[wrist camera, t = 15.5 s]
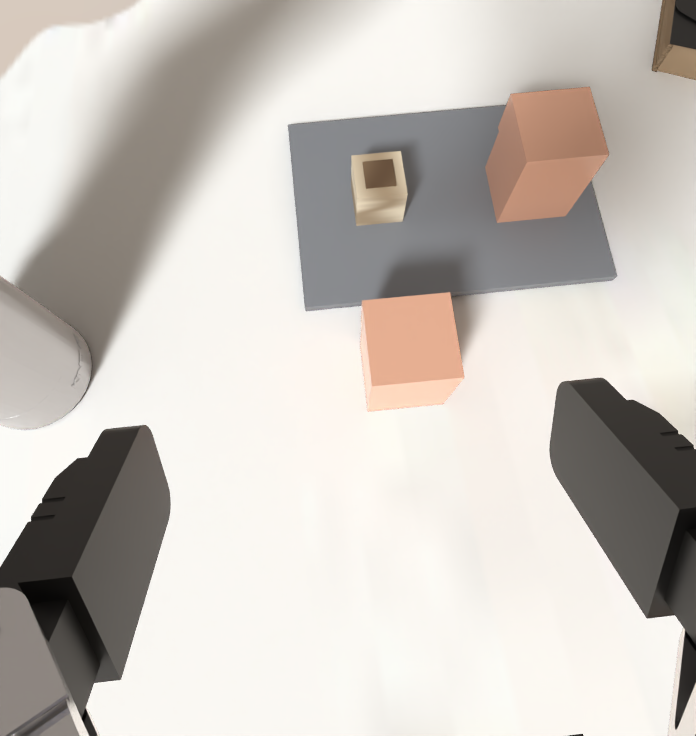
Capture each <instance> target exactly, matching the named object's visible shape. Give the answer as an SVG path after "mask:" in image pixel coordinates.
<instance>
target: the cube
mask: <svg viewBox="0 0 696 736" xmlns="http://www.w3.org/2000/svg"><path fill="white" fill-rule="evenodd" d="M351 189H352V196H353V204H354V212H355V220H356V226H361V225H372V224H382V223H392V222H403V217H404V211H405V206H406V200H407V195H408V193H407V186H406V180H405V174H404V168H403V162H402V155H401V151H395V152H384V153H373V154H362V155H351Z"/></svg>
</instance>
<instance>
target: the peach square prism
mask: <svg viewBox="0 0 696 736" xmlns="http://www.w3.org/2000/svg"><path fill="white" fill-rule="evenodd" d="M360 349H361V358H362V367H363V376H364V385H365V394H366V403H367V411H368V412H369V411H379V410H389V409H399V408H409V407H419V406H429V405H440V404H444V402H445V401H446V400H447V399H448V397H449V396H450V395H451V394H452V392H453V391H454V390H455V389H456V387H457V386H458V385H459V384H460V382H461V381H462V380H463V379H464V372H463V366H462V360H461V354H460V348H459V342H458V336H457V330H456V324H455V318H454V312H453V306H452V300H451V294H450V292H447V293H437V294H426V295H415V296H404V297H394V298H383V299H372V300H362V307H361V336H360Z"/></svg>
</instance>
